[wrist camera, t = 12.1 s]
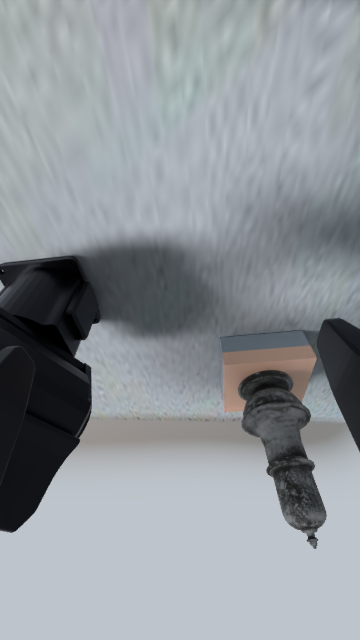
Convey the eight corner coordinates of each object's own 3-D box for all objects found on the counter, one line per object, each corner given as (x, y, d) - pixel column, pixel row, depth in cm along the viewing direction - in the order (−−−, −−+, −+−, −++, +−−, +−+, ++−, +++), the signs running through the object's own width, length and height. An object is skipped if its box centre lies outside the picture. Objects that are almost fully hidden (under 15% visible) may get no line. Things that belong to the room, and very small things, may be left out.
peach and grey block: (220, 385, 31) (224, 412, 29) (219, 337, 26) (224, 365, 23) (289, 380, 31) (300, 407, 28) (302, 330, 26) (317, 357, 23)
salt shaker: (294, 361, 23) (372, 534, 14) (297, 397, 27) (361, 553, 18) (229, 376, 24) (261, 543, 15) (240, 408, 28) (272, 559, 19)
